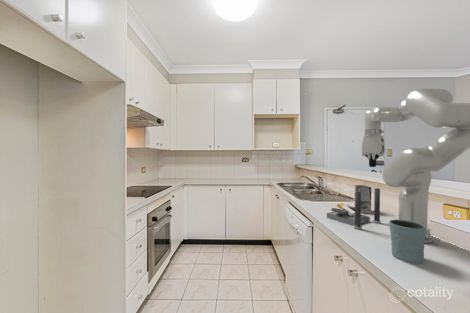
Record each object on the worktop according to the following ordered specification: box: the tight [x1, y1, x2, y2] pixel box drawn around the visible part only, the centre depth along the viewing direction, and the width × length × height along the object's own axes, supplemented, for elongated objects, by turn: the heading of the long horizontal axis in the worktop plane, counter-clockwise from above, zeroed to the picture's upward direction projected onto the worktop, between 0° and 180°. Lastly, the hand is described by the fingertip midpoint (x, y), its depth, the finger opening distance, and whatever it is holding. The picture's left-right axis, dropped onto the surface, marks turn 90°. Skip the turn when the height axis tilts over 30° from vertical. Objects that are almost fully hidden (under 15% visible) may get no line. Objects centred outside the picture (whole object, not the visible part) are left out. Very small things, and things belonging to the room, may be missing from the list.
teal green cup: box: [388, 219, 426, 265], centre depth 75 cm, size 10×10×12 cm
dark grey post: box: [372, 187, 382, 225], centre depth 111 cm, size 3×3×18 cm
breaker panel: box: [326, 205, 371, 227], centre depth 117 cm, size 16×15×6 cm
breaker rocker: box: [336, 202, 355, 216], centre depth 118 cm, size 9×4×2 cm, turn 30°
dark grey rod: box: [353, 190, 363, 231], centre depth 103 cm, size 3×3×18 cm
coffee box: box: [354, 184, 372, 215], centre depth 132 cm, size 9×6×16 cm
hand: (372, 166), depth 116 cm, fingers closed
